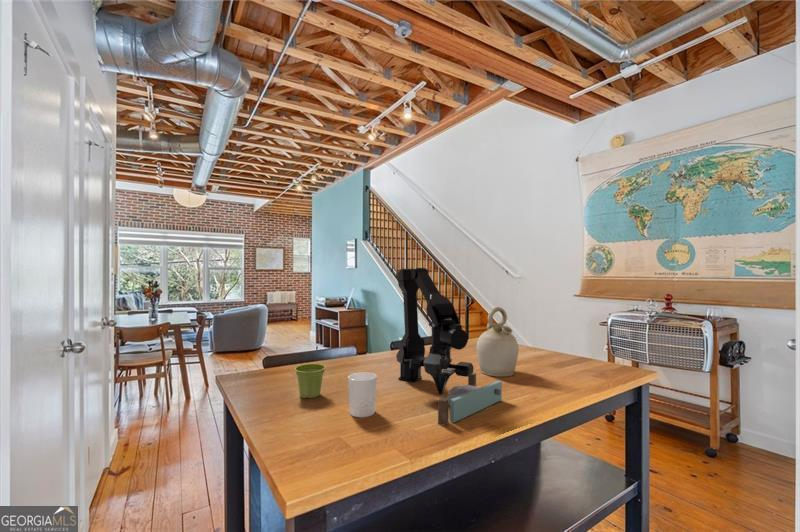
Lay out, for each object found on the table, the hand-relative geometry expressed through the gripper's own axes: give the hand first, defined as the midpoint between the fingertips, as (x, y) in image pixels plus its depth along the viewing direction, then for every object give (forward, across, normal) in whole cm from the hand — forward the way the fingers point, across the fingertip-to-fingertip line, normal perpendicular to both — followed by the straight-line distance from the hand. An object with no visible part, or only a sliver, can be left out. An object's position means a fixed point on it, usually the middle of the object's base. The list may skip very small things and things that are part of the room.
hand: (440, 394), depth 110 cm
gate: (+1, +13, -4) cm, 14 cm away
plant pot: (+2, -37, -16) cm, 40 cm away
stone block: (+2, +7, +2) cm, 7 cm away
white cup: (+2, -15, -20) cm, 25 cm away
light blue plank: (+1, +7, -3) cm, 8 cm away
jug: (+2, +9, +37) cm, 38 cm away
